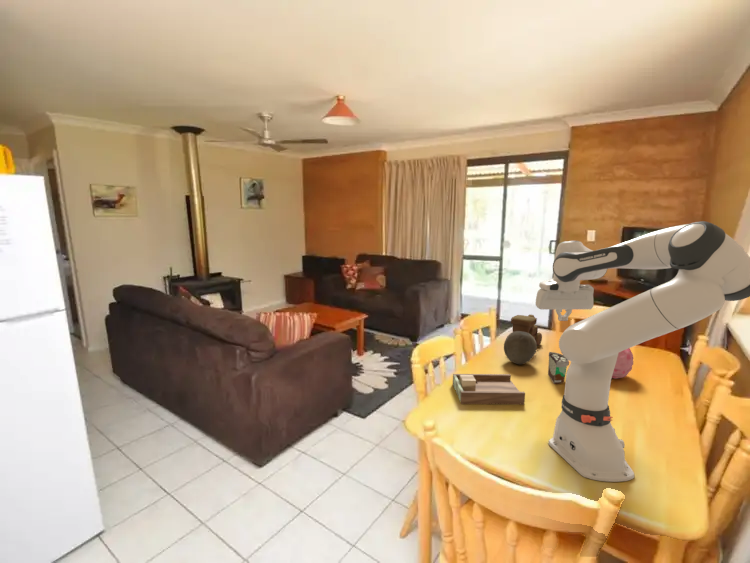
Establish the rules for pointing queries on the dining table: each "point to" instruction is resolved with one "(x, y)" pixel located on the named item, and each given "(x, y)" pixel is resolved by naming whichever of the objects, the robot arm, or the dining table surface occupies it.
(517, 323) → the wooden toy train
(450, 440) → the dining table surface
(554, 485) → the dining table surface
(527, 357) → the dark brown round ball
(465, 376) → the beech block
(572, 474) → the dining table surface
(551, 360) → the food container
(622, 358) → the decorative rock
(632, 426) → the dining table surface
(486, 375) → the box
